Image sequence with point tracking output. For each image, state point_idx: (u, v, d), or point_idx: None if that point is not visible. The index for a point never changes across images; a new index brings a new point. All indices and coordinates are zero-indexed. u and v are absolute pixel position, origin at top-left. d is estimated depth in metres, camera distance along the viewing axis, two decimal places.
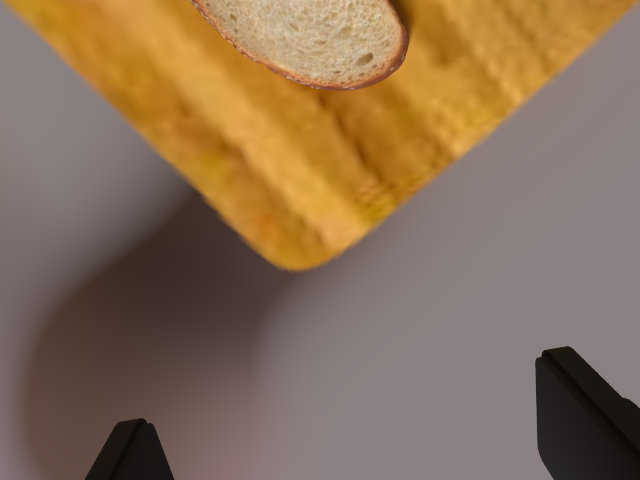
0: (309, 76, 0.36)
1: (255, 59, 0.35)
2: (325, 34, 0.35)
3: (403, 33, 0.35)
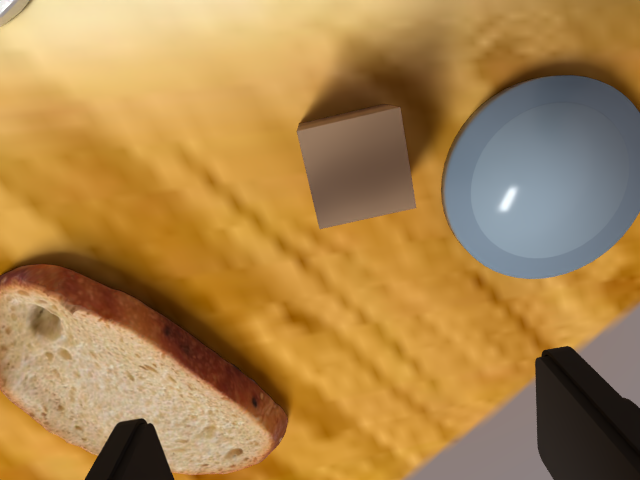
0: (174, 470, 0.32)
1: None
2: (186, 434, 0.31)
3: (274, 432, 0.31)
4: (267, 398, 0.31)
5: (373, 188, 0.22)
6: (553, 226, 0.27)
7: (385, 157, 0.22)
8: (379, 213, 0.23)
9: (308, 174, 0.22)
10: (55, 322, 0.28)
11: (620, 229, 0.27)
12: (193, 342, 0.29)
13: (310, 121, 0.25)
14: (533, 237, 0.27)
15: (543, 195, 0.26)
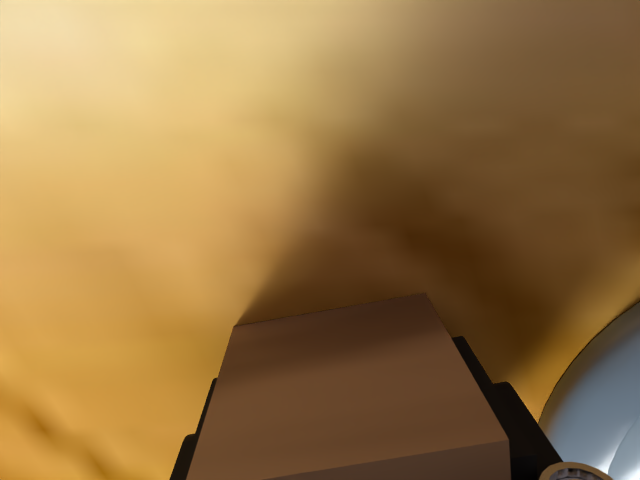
0: None
1: None
2: None
3: None
4: None
5: None
6: None
7: None
8: None
9: None
10: None
11: None
12: None
13: (257, 331, 0.11)
14: None
15: None
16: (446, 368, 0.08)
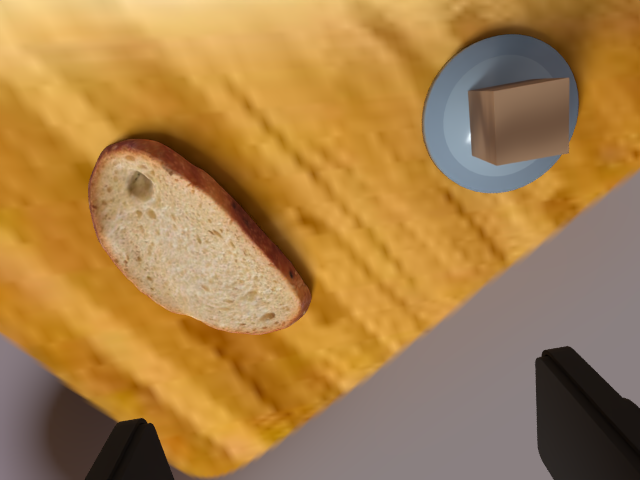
0: (217, 325, 0.40)
1: (169, 310, 0.39)
2: (233, 295, 0.39)
3: (302, 301, 0.39)
4: (299, 276, 0.40)
5: (540, 137, 0.30)
6: None
7: (552, 114, 0.30)
8: (541, 156, 0.31)
9: (495, 124, 0.30)
10: (146, 188, 0.36)
11: (554, 156, 0.36)
12: (250, 219, 0.37)
13: (479, 89, 0.34)
14: None
15: None
16: (549, 79, 0.31)
